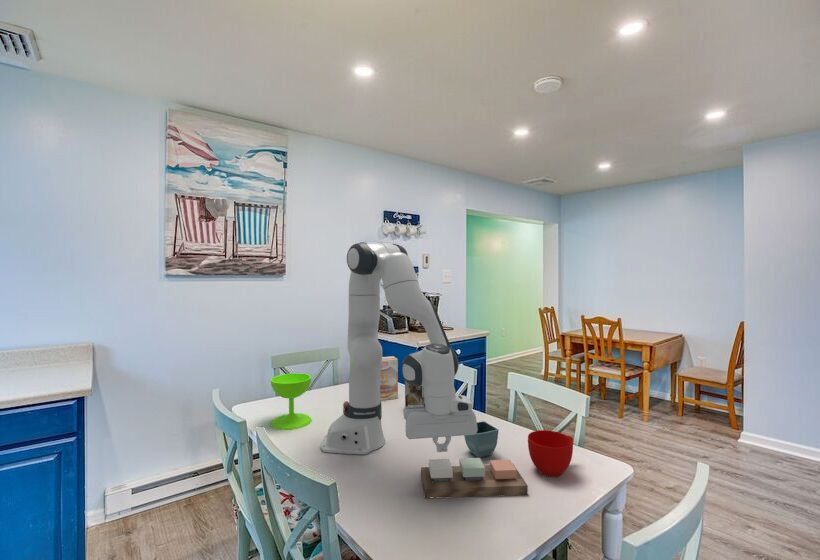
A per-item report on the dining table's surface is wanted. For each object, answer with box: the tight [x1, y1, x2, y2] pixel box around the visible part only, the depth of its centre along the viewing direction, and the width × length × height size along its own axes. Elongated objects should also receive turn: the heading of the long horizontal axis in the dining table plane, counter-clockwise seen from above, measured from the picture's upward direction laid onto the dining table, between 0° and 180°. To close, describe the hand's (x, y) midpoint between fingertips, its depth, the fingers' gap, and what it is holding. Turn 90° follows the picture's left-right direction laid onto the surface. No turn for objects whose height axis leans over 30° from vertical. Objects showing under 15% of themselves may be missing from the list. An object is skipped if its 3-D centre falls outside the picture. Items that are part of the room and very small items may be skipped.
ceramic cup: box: [527, 429, 574, 478], centre depth 121 cm, size 13×17×10 cm
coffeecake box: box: [380, 355, 399, 402], centre depth 191 cm, size 15×7×20 cm, turn 111°
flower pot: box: [463, 420, 500, 459], centre depth 132 cm, size 9×9×9 cm
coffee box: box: [404, 380, 425, 409], centre depth 173 cm, size 9×6×16 cm
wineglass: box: [270, 372, 313, 431], centre depth 161 cm, size 16×16×18 cm
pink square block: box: [489, 459, 518, 480], centre depth 113 cm, size 6×6×5 cm
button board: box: [420, 463, 529, 499], centre depth 112 cm, size 28×12×2 cm, turn 93°
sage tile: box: [458, 457, 485, 481], centre depth 112 cm, size 6×6×5 cm
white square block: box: [428, 458, 453, 482], centre depth 112 cm, size 6×6×5 cm
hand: (442, 451), depth 111 cm, fingers closed
